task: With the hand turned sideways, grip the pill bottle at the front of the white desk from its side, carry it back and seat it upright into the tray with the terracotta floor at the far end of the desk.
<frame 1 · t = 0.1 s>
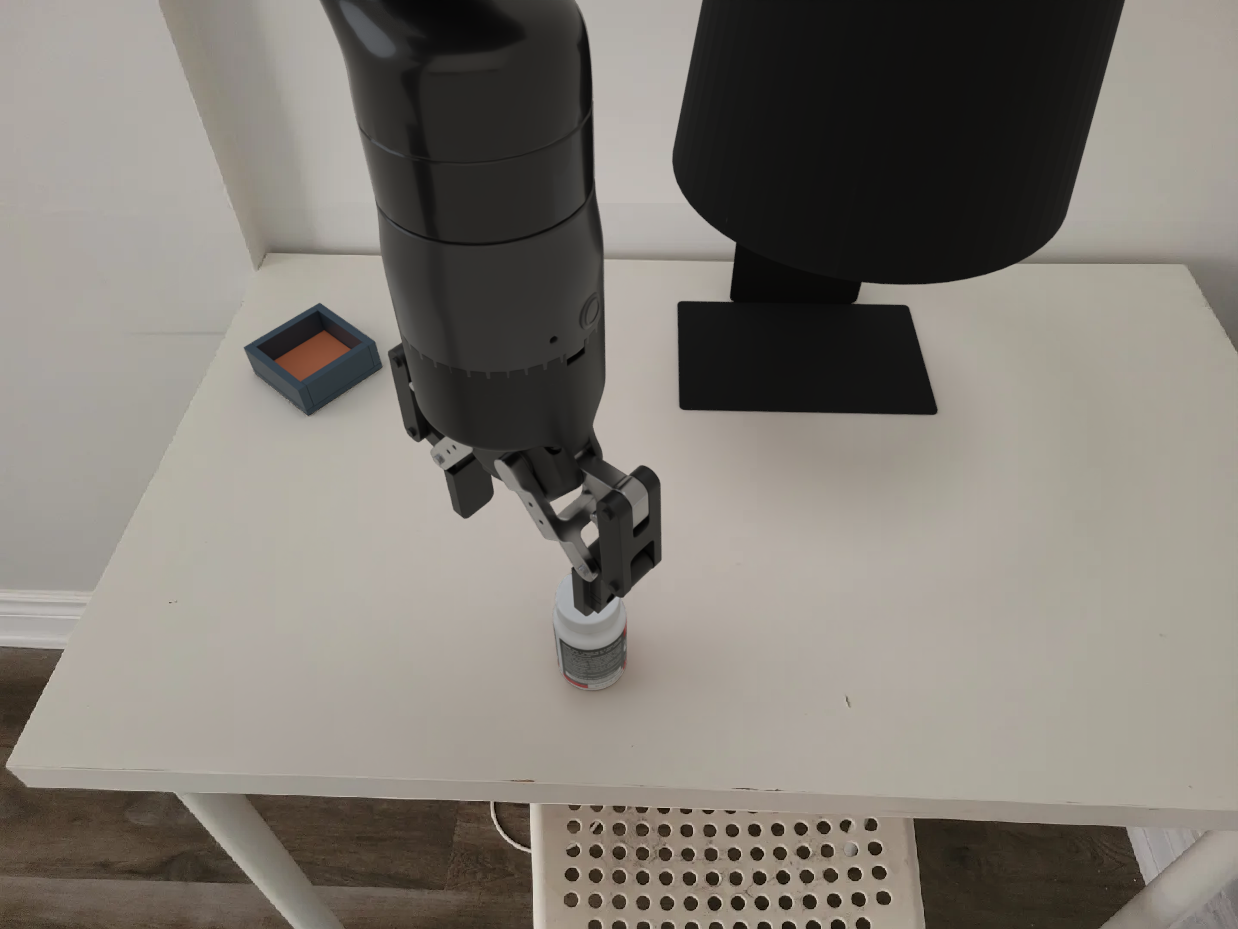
hand: (533, 551, 44), 18 cm above the table, tool pointing down, fingers open, 8 cm apart
table lamp: (806, 399, 77), on the table
tray: (318, 369, 79), on the table
pill bottle: (592, 661, 60), on the table
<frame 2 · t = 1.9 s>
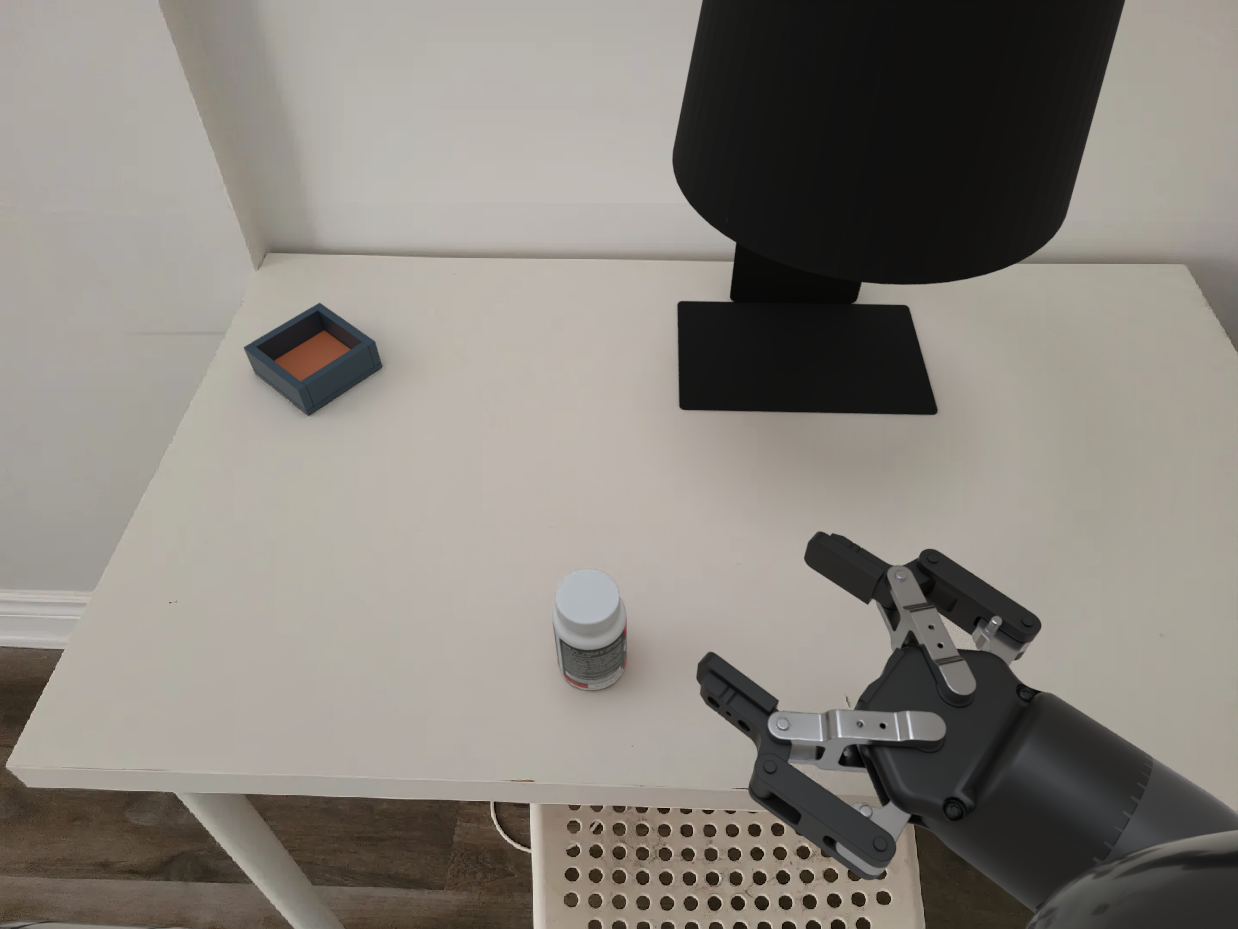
hand: (758, 602, 41), 19 cm above the table, tool horizontal, fingers open, 8 cm apart
nothing on the table moved.
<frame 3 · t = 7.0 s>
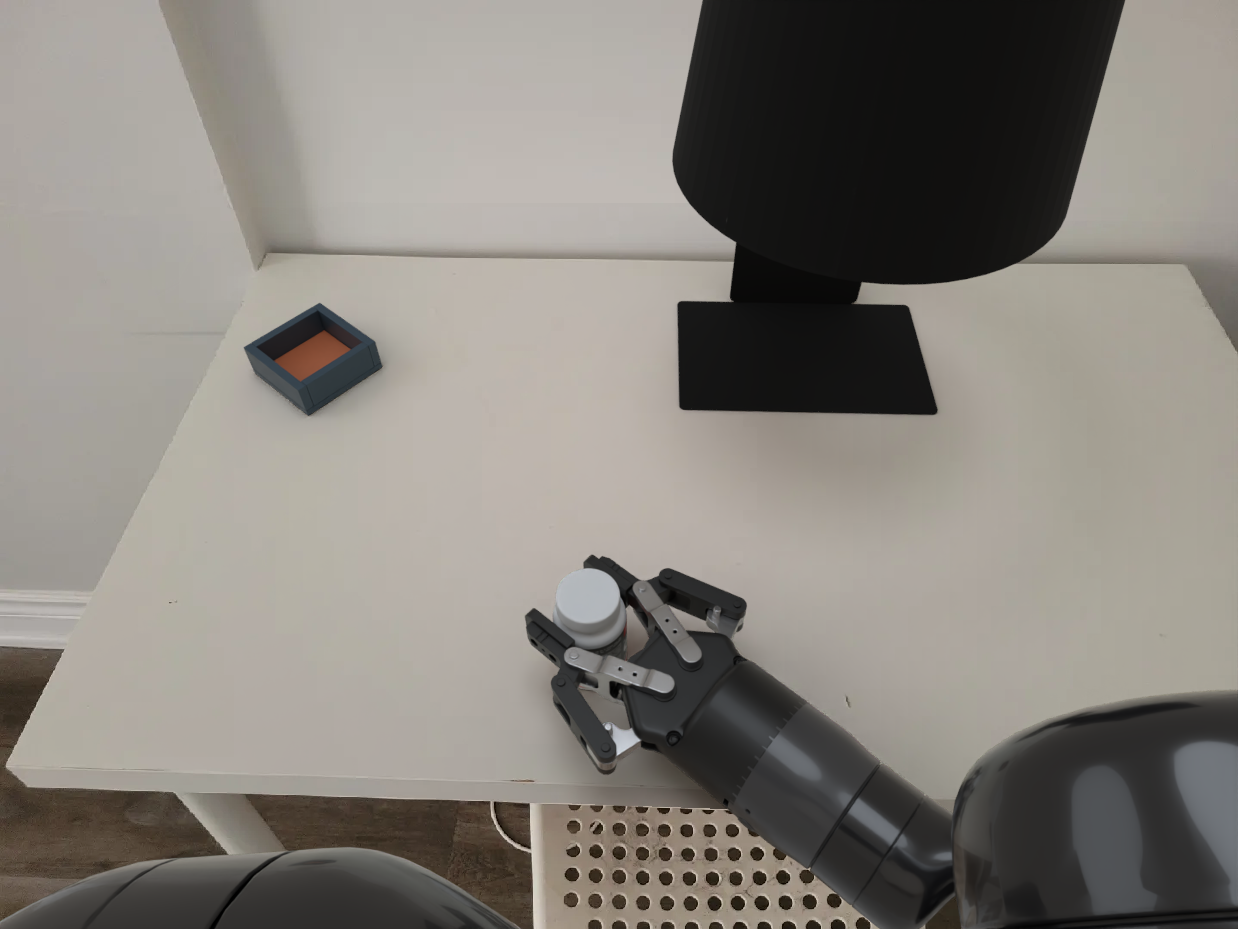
hand: (559, 591, 57), 6 cm above the table, tool horizontal, fingers closed on pill bottle, 4 cm apart
pill bottle: (592, 661, 60), on the table, touching gripper
everything else where it was.
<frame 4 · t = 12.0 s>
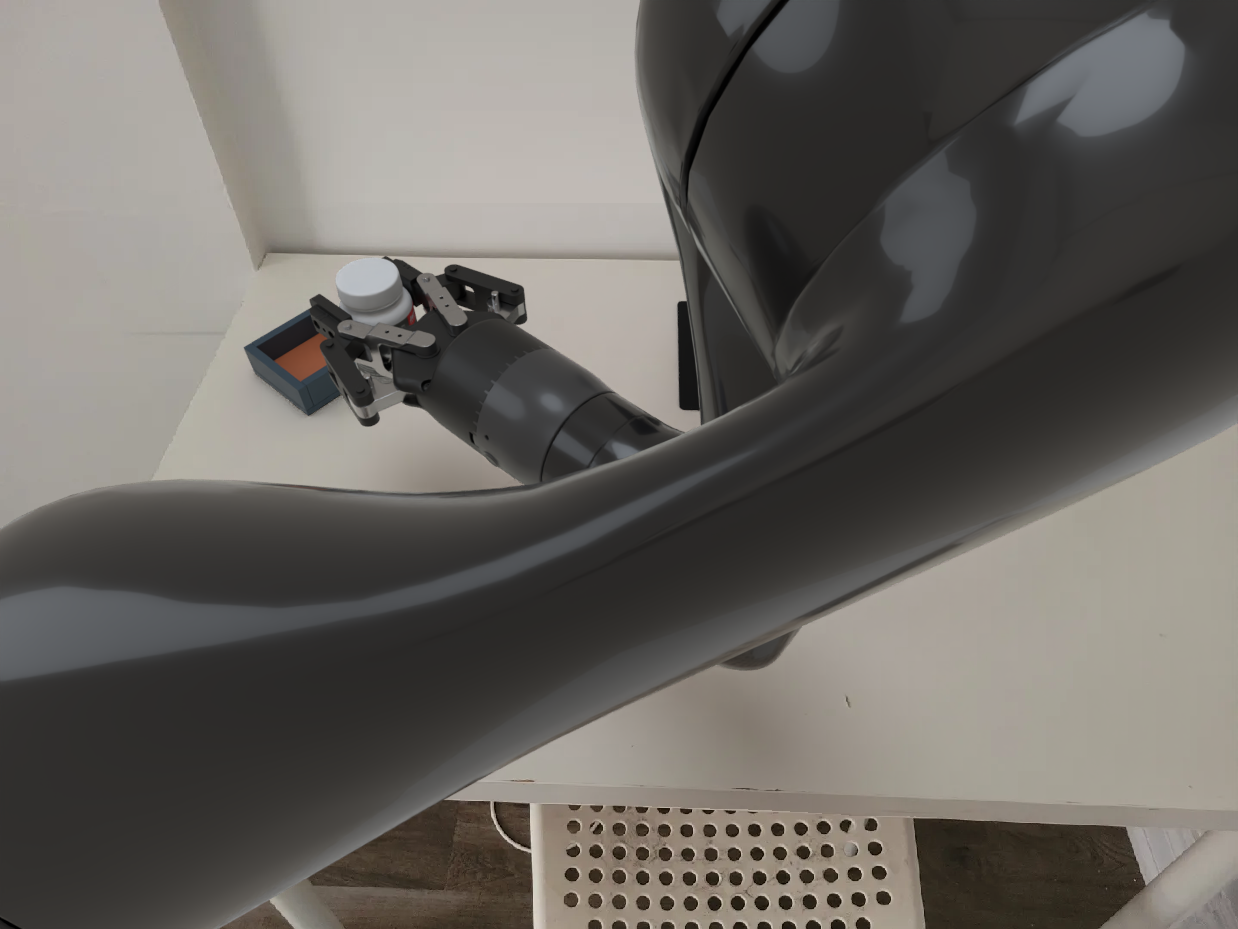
hand: (350, 288, 59), 18 cm above the table, tool horizontal, fingers closed on pill bottle, 4 cm apart
pill bottle: (395, 374, 62), point 11 cm above the table, touching gripper
everything else where it was.
when the fingers open (7 cm above the table, at t = 17.5 s): pill bottle stays where it is, resting on tray.
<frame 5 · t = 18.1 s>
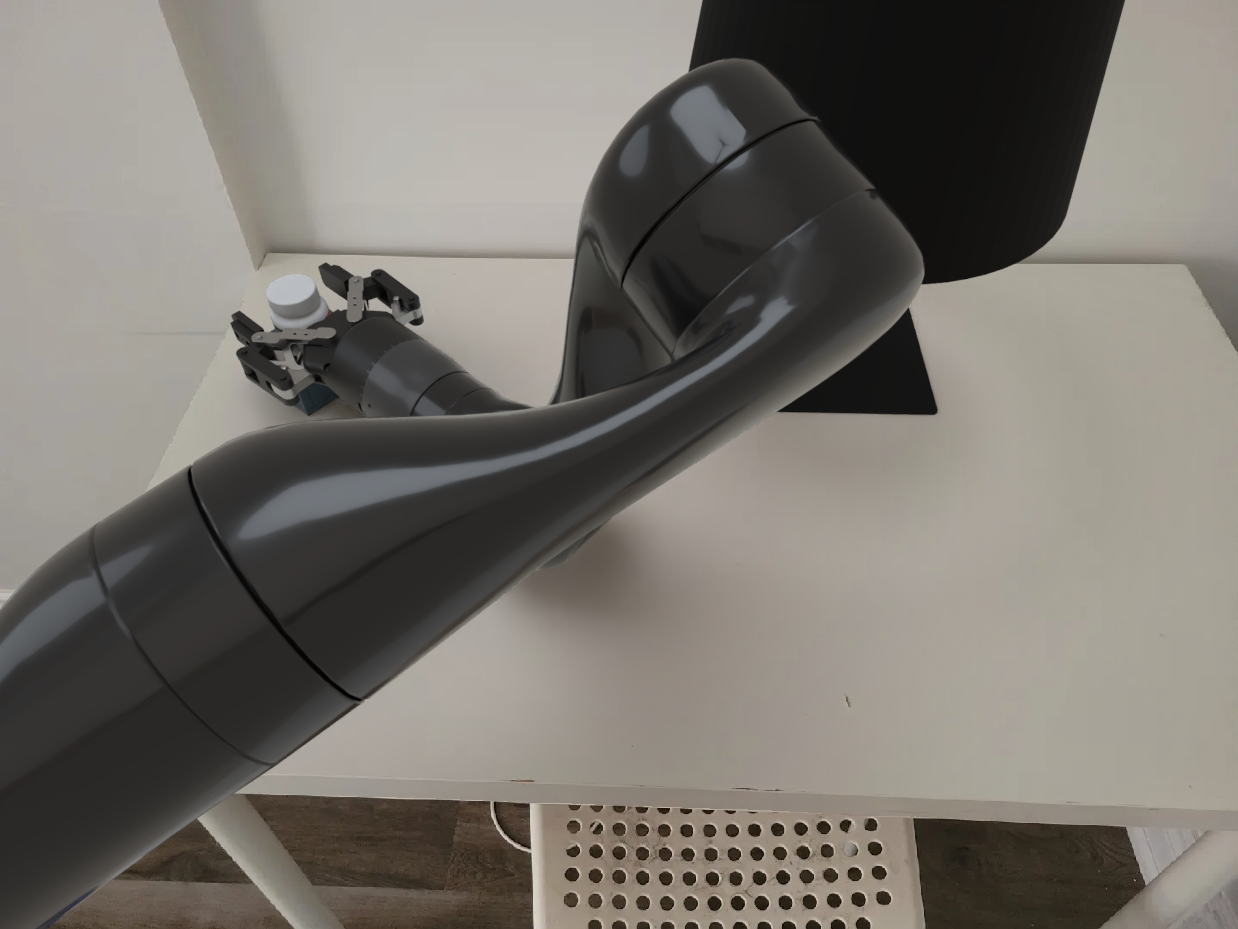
hand: (281, 296, 74), 7 cm above the table, tool horizontal, fingers open, 8 cm apart
pill bottle: (318, 365, 79), point 1 cm above the table, touching tray
everything else where it was.
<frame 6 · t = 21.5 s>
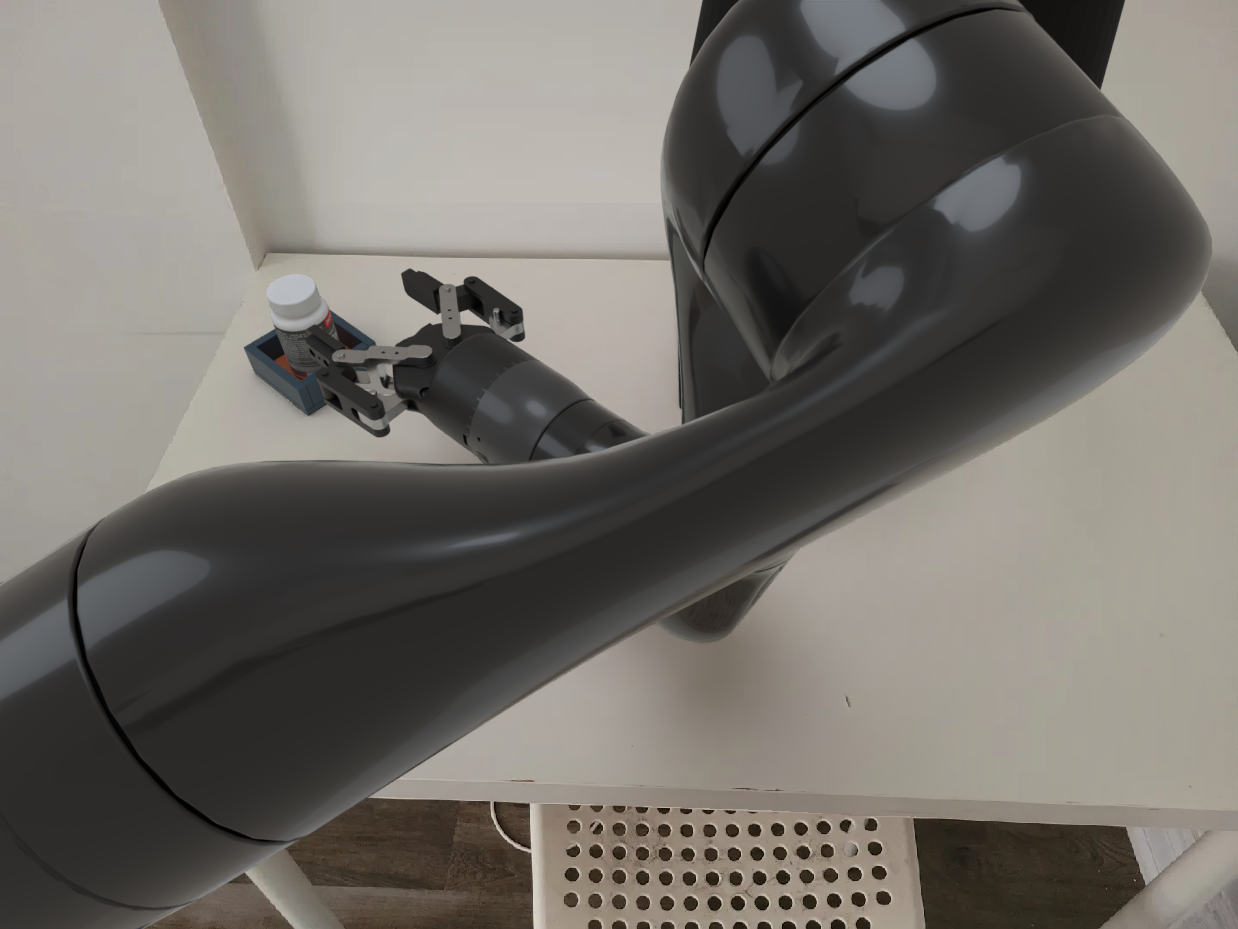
hand: (360, 307, 64), 13 cm above the table, tool horizontal, fingers open, 8 cm apart
nothing on the table moved.
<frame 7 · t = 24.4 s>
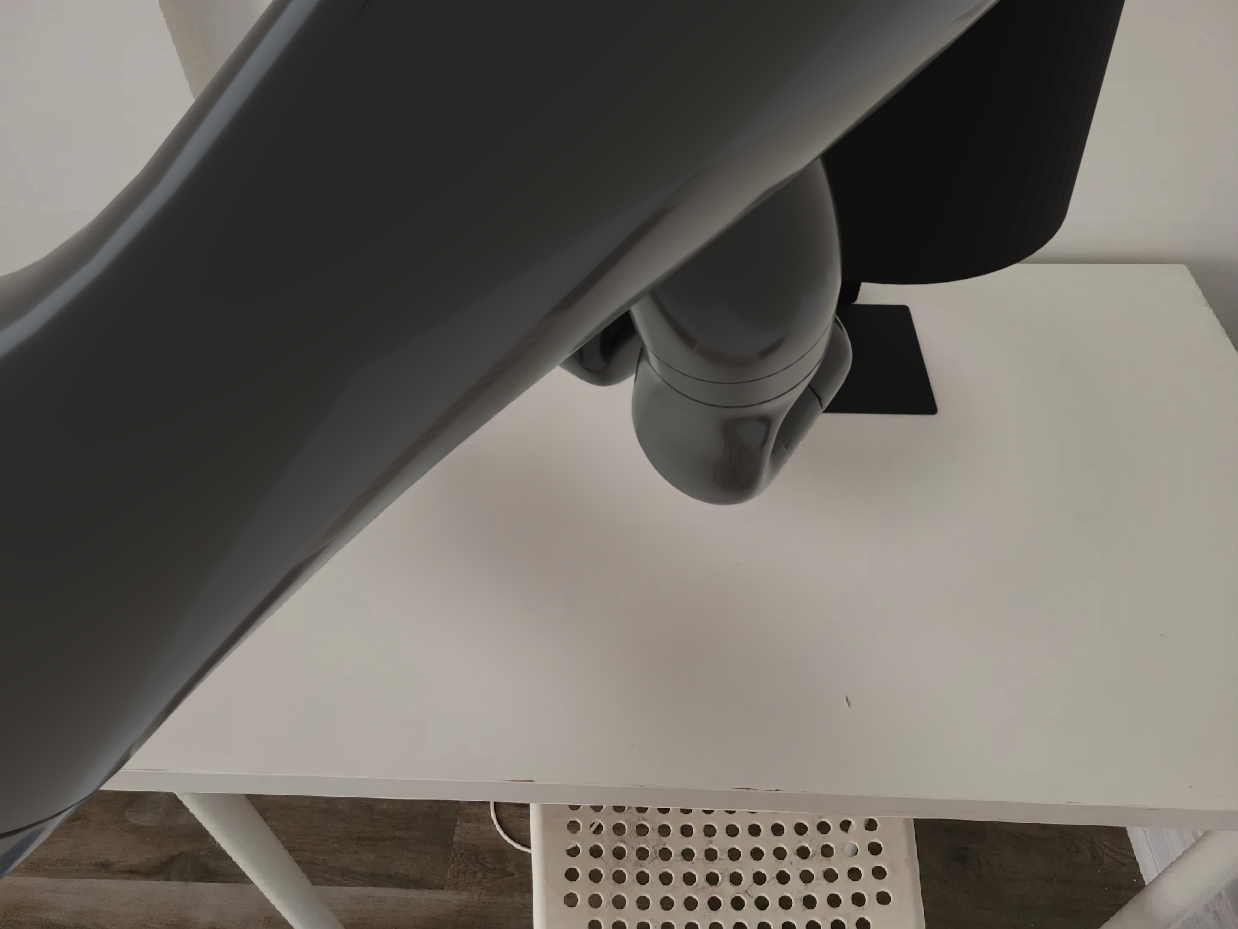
hand: (316, 146, 54), 26 cm above the table, tool horizontal, fingers open, 8 cm apart
nothing on the table moved.
at the end: pill bottle 0.1 cm off-centre in the tray, point 0.6 cm above the tray's base; pill bottle tilted 0°; the gripper is holding nothing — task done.
